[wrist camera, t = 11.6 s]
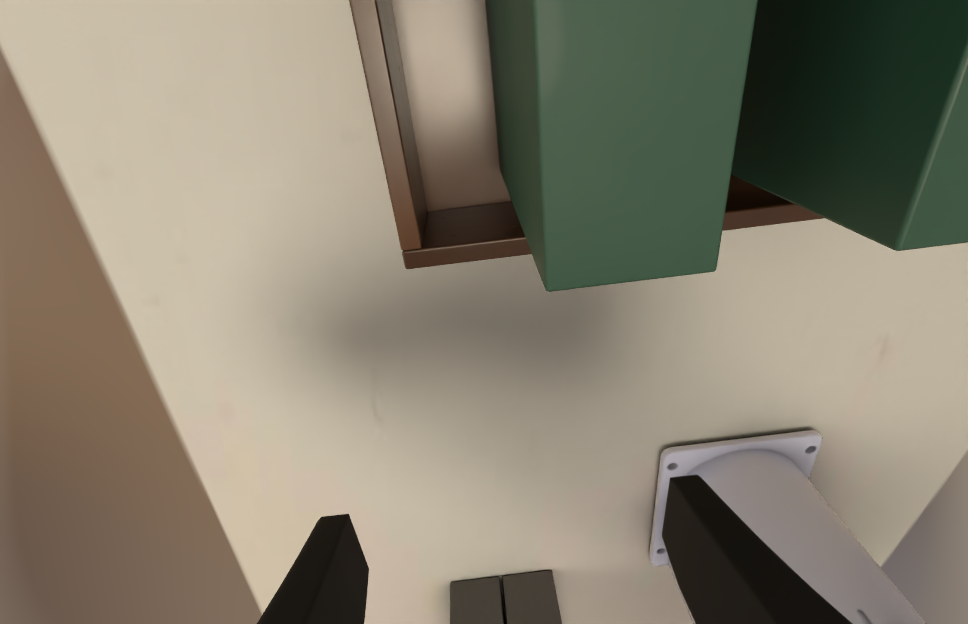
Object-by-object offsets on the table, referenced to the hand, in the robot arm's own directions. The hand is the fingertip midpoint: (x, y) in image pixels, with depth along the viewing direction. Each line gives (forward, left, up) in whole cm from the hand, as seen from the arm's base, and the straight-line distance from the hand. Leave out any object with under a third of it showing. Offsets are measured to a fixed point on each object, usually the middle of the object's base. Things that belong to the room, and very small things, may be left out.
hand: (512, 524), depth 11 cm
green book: (+9, -3, -9) cm, 13 cm away
